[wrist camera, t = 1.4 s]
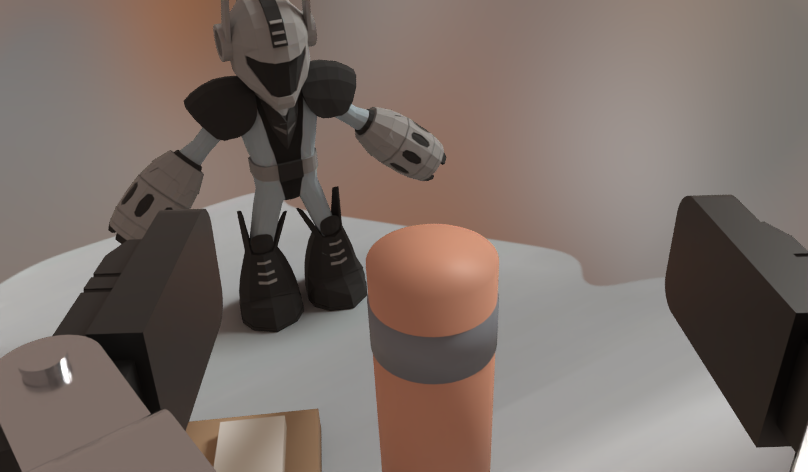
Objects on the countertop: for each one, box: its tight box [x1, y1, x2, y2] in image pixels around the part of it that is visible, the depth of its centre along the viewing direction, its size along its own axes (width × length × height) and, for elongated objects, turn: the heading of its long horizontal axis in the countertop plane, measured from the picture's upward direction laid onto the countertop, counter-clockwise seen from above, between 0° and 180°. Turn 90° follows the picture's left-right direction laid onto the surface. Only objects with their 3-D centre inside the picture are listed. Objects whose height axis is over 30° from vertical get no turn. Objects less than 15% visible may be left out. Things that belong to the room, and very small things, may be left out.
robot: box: [109, 0, 446, 332], centre depth 40 cm, size 20×5×20 cm, turn 115°
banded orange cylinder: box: [366, 224, 499, 472], centre depth 28 cm, size 4×4×14 cm
